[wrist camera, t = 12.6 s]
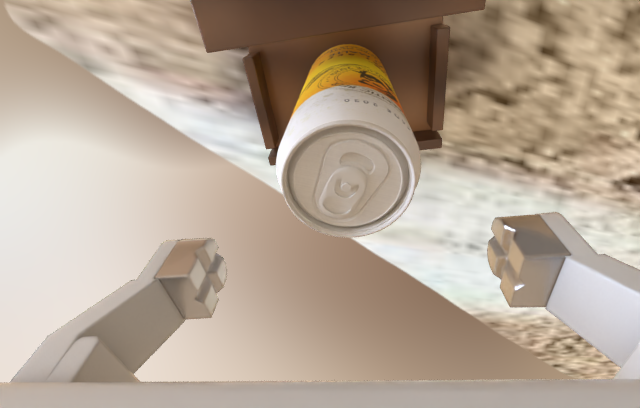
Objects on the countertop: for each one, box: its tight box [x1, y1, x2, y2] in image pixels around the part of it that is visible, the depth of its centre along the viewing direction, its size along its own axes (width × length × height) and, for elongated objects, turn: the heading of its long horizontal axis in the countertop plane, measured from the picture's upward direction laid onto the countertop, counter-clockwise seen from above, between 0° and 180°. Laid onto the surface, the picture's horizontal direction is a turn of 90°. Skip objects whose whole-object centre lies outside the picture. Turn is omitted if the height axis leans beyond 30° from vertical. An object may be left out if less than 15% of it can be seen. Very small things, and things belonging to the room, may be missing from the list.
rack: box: [190, 0, 486, 165], centre depth 21 cm, size 15×14×9 cm
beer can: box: [276, 44, 421, 237], centre depth 19 cm, size 6×6×15 cm
